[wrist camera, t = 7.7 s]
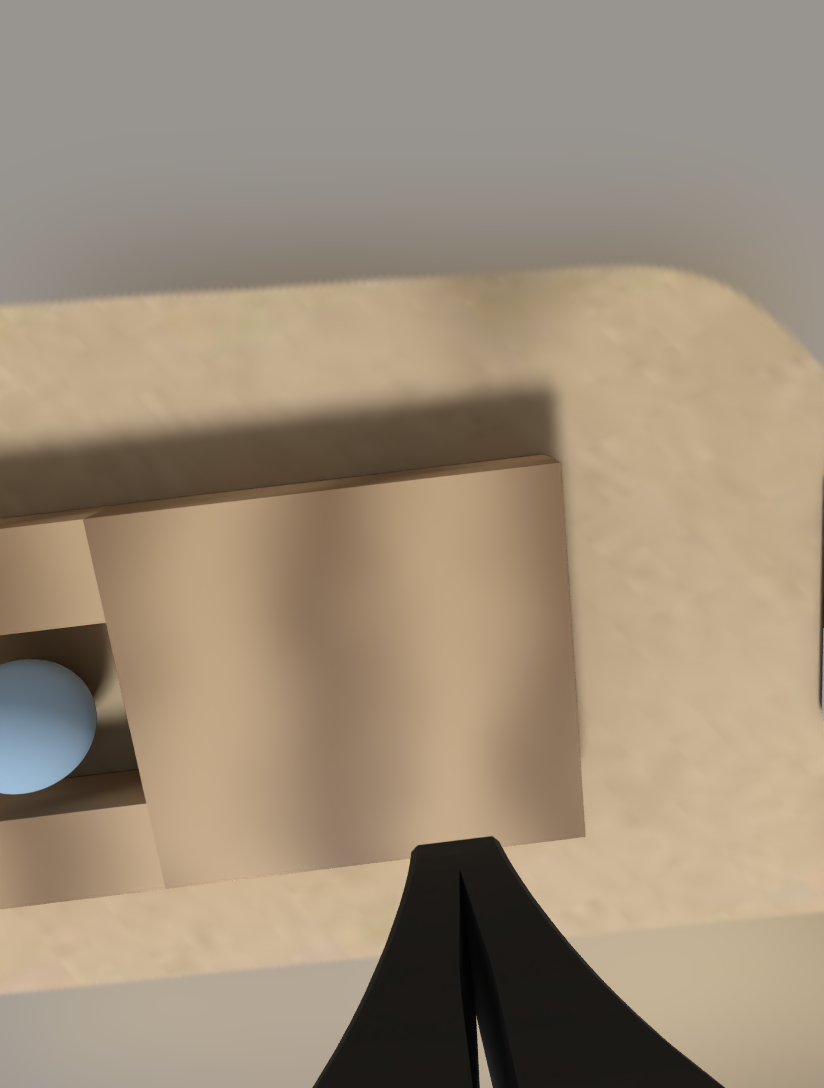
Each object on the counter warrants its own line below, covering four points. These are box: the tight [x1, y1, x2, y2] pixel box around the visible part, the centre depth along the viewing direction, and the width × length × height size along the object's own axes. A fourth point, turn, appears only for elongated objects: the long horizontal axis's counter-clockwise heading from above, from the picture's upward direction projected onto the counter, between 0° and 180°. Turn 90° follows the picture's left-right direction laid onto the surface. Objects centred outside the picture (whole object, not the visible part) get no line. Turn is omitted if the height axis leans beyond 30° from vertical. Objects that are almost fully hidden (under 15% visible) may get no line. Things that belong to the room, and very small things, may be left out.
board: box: [0, 454, 585, 909], centre depth 20 cm, size 22×11×4 cm, turn 97°
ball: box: [0, 659, 97, 794], centre depth 20 cm, size 4×4×4 cm
